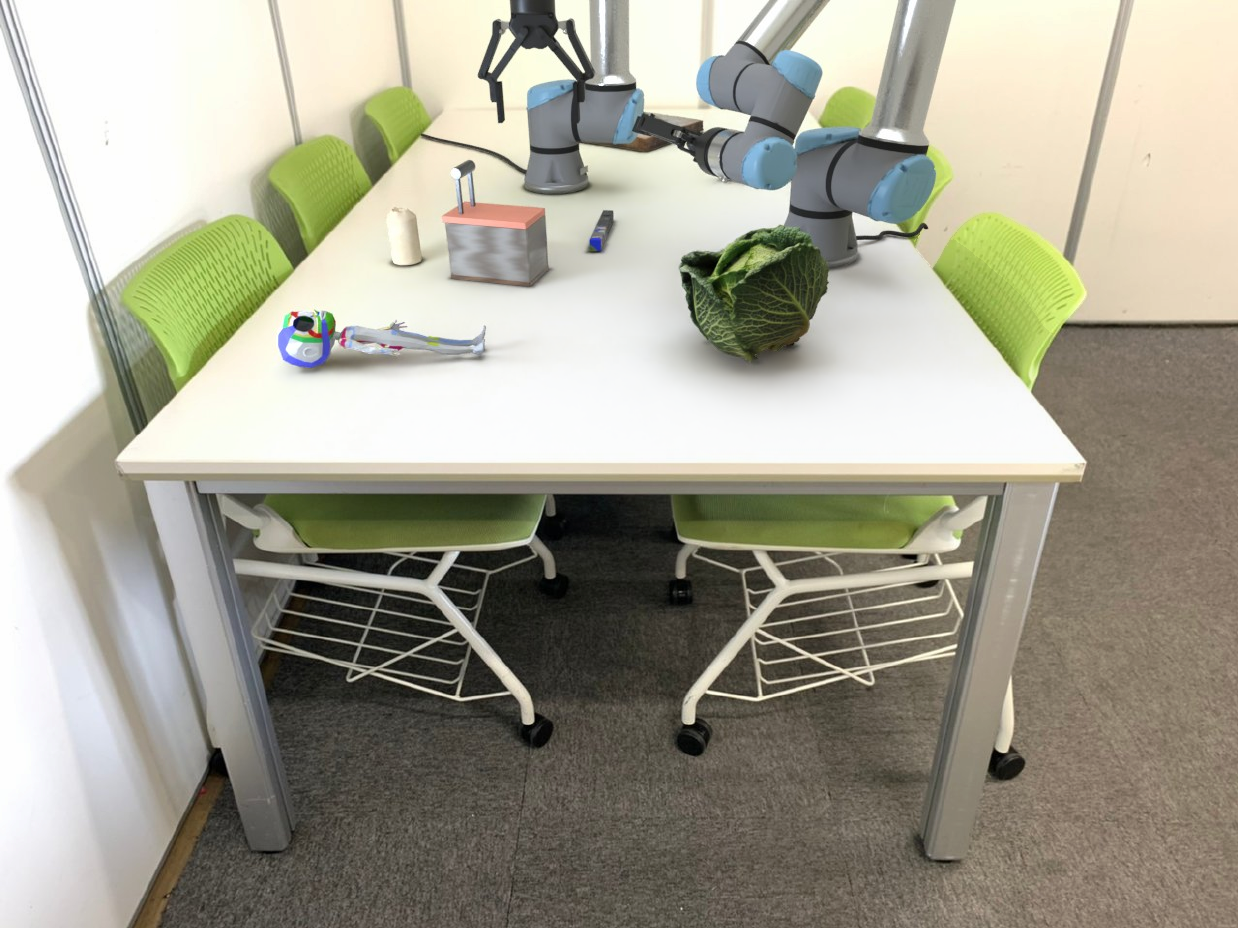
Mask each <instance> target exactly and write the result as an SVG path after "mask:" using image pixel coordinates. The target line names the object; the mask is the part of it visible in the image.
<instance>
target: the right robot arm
mask: <svg viewBox="0 0 1238 928" xmlns="http://www.w3.org/2000/svg"><path fill="white" fill-rule="evenodd" d="M830 1H831V0H768V1H767V2H766V4H764V6H763V7H762V8H761V10H760V11H759V12H758V14H757V15H756V16H755V17H754V19H753V20H752V21H751V22H750V23H749V25H748V26H747V27H746V29H745V30H744V31H743V32H742V34H741V35H740V36H739V38H738V39H737V40H736V41H735V43H733V45H732V46H731V48H729V50H728V51H727V52H726V54H725V55H722V54H720V55H713V56H711V57H708V58H706V59H705V60H704V61H703V62H702V63H701V64H700V66H699V69H698V71H697V74H696V79H695V80H696V81H695V86H696V91H697V94H698V95H699V98H700V99H701V100H702V101H703V102H704V103H706V104H707V105H710V106H712V107H715V108H717V109H719V110H723V111H724V110H727V111H731V112H736V113H740V114H744V115H748V116H750V117H749V119H748V120H747V121H748V122H747V125H746V127H745V130H744V131H742V130H738V129H733V128H726V127H721V126H716V127H711V128H709V129H707V130H705V131H704V132H702V131H700V132H698V133H697V132H694V131H692V130H689V129H686V128H685V127H683V126H682V127H681V126H677V125H674V124H671V123H668V122H665V121H662V120H659V119H657V118H655V115H654V114H652V113H653V112H651V114H650V116H648V115H647V114H642V115H641V116H638V117H637V119H636V122H635V124H634V127H633V129H632V131H633V132H635V133H639V134H643V135H647V136H651V135H652V136H655V137H657V138H660V139H662V140H665V141H667V142H670V143H669V144H673V145H674V146H676V147H677V149H679V150H680V151H682V152H684V153H687V154H689V155H690V156H692V157H693V159H692V162H694V163H696V164H697V165H698V167H699V169H700V170H701V171H702V172H703V173H705V174H706V175H710V176H713V177H716V178H720V179H721V182H722V183H724V184H727V183H728V182H729V181H731V182H734V183H737V184H740V185H744V186H746V187H750V188H753V189H755V190H766V191H777V190H780V189H782V188H784V187H786V186H787V185H788V184H789V183H790V193H789V204H788V206H789V207H788V213H787V217H786V219H785V221H784V223H783V226H784V225H785V226H786V227H799V228H800V231H802V232H804V233H806V234H809V236H810V237H811V240H812V245H813V247H814V248H815V247H818V249H819V250H820V251H821V255H822V257H823V258H824V259H825V260H826V263H827V267H828V269H830V268H831V269H833V268H839V267H844V266H847V265H850V264H852V263H853V262H855V261H856V260H857V258H858V253H859V249H858V248H859V246H858V245H859V244H858V241H864V240H865V241H877V240H878V241H879V240H881V239H882V238H883V237H884V236H893V237H894V236H895V237H899V238H901V237H902V238H913V237H915V236H918V235H919V234H920V233H921V232H922V231H923V230H929V226H928V225H927V223H925V222H921V223H920V224H919V226H918V227H917V229H916V230H914V231H912V232H902V231H896V230H890V229H889V230H882V231H881V232H880V233H879V234H876V235H865V234H864V235H857V234H856V229H855V224H854V219H853V213H855V214H857V215H861V216H864V217H867V218H869V219H870V220H873V221H874V222H883V223H886V224H891V225H897V224H902V223H905V222H907V221H909V220H911V219H912V218H913V217H914V216H916V214H917V213H918V212H920V211H921V210H922V209H923V207H924V206H925V205H926V203H927V202H928V200H929V198H930V197H931V195H932V193H933V190H934V187H935V183H936V177H937V170H936V169H935V168H936V166H935V163H934V161H933V160H932V159H931V158H930V157H929V156H927V154H928V151H929V147H930V140H929V139H928V137H927V136H926V134H925V131H924V129H925V124H926V120H927V117H928V113H929V108H930V105H931V101H932V97H933V93H934V90H935V86H936V85H935V84H936V81H937V76H938V73H939V69H940V64H941V61H942V57H943V53H944V49H945V45H946V41H947V37H948V33H949V29H950V26H951V21H952V17H953V13H954V10H955V7H956V3H957V0H898V1H897V5H896V10H895V14H894V17H893V18H894V19H893V22H892V27H891V31H890V36H889V40H888V44H887V49H886V53H885V58H884V63H883V67H882V70H881V76H880V79H879V84H878V89H877V94H876V98H875V101H874V106H873V110H872V115H871V119H870V122H869V124H868V125H866V126H865V127H863V128H862V129H861V128H860V127H856V126H828V127H819V128H813V129H812V128H811V129H808V130H805V131H802V132H800V133H799V130H800V129H801V126H802V124H803V122H804V120H805V118H806V116H807V114H808V112H809V109H810V107H811V105H812V103H813V101H814V100H815V97H816V93H817V90H818V88H819V85H820V82H821V80H822V77H823V68H822V66H821V65H820V64H819V63H818V62H817V61H815V60H814V59H812V58H811V57H809V56H807V55H805V54H803V53H800V52H798V51H794V50H792V49H793V48H794V47H795V45H796V44H797V42H798V41H799V40H800V39H801V38H802V36H803V35H804V34H805V32H806V31H807V30H808V29H809V28H810V26H811V25H812V24H813V22H815V20H817V17H818V16H819V15H820V14H821V13H822V11H823V10H824V9H825V8H826V6H827V5H828V4H829V3H830ZM798 133H799V134H798ZM689 135H690V136H689ZM685 146H686V147H685Z"/></svg>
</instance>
